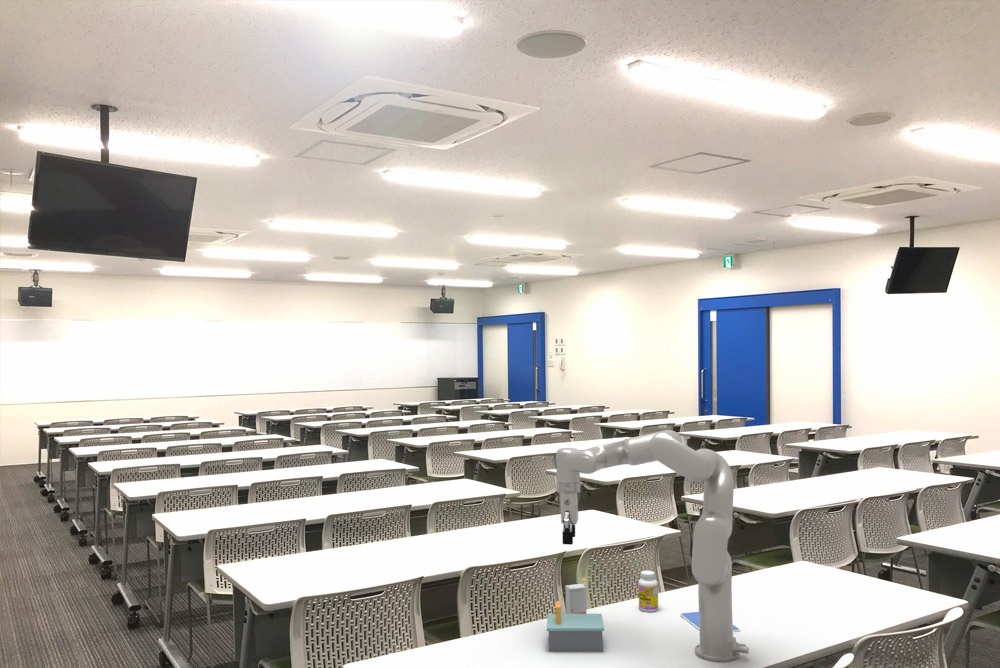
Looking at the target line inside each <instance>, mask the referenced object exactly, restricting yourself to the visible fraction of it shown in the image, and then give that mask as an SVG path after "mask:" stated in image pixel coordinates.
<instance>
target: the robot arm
mask: <svg viewBox="0 0 1000 668" xmlns="http://www.w3.org/2000/svg"><path fill="white" fill-rule="evenodd" d="M555 460H556V463H555V464H556V465H555V466H556V467H555V471H556V492H557V493H559V494H560V496H559V497H560V499H559V500H560V506H559V507H560V520H561V522H560V523H561V524H562V545H573V544H574V538H575V537H576V525H577V523H578V521H579V504H578V502H579V500H578V493H581V474H584V475H585V474H586V475H590V474H593V473H595V472H598V471H600V470H604V469H607V468H612V467H617V466H622V465H623V466H624V465H629V466H638V465H643V464H649V463H653V462H657V461H658V463H661V464H662V465H663V466H665V467H667V468H668V469H670V470H672V471H674V472H675V473H677V474H679V475H680V476H682V477H684V478H686V479H687V480H689V481H691V482H695V483H702V482H704V490H703V496H702V497H703V499H702V500H703V502H702V503H703V504H702V511H701V512H702V513H701V515H700V517H699V519H698V520H697V521H696V523H695V525H694V528H693V529H694V530H693V539H692V552H691V553H692V554H691V574H692V576H693V578H694V579H695V580H696V581H697V583H698V587H697V589H698V590H697V591H698V593H697V595H698V596H697V597H698V612H699V629H700V631H699V643H698V644H696V646H695V647H694V653H695V655H697V657H699V658H701V659H704V660H707V661H713V662H731V661H734V660H736V659H738V658H739V656H740V653H742V654H747V655H749V651H750V650H749V649H750V648H749V646H747V644H746V643H739V642H737V638H736V637H734V632H733V625H734V623H733V596H732V595H733V594H732V593H733V592H732V583H733V582H732V579H733V575H732V574H733V562H732V557H731V555H730V553H729V551H728V542H729V538H730V536H732V532H733V513H734V511H733V509H734V489H735V488H734V487H735V486H734V476H733V471H732V470H731V467H730V465H729V463H728V462H727V461H726V459H725V458H724V457H723V456H722V455H721V454H719V453H718V452H716V451H715V450H712V449H709V448H699V449H696V450H695V449H693V448H692V447H690V446H688V445H686V444H684V442H683V439H682V437H681V435H680V434H679V433H678V432H676V431H675V430H670V429H666V430H660V431H656V432H651V433H648V434H642V435H638V436H634V437H629V438H624V439H623V440H620V441H619V440H618V441H615V442H610V443H606V444H601V445H597V446H593V447H589V448H588V449H587V448H586V449H583V450H578V449H576V448H573V447H562V448H559V449H557V451H556V453H555Z"/></svg>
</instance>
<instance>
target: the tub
mask: <svg viewBox="0 0 1000 668" xmlns="http://www.w3.org/2000/svg"><path fill="white" fill-rule="evenodd" d="M603 638H604V637H603V631H548V652H556V653H557V652H558V653H559V652H560V653H561V652H563V653H564V652H565V653H566V652H569V653H570V652H571V653H572V652H573V653H577V652H579V653H581V652H587V653H588V652H590V653H591V652H592V653H595V652H596V653H598V652H599V653H603V652H604V646H603V645H604V642H603Z"/></svg>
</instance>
